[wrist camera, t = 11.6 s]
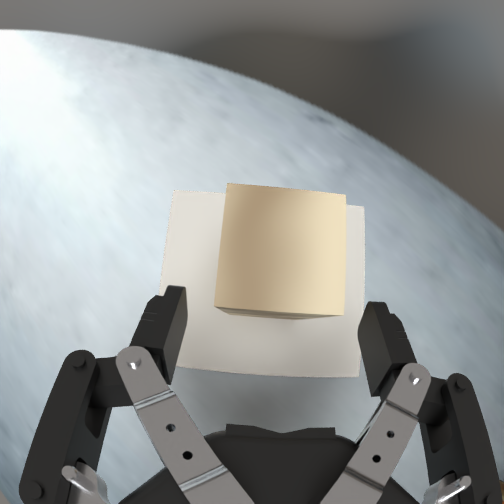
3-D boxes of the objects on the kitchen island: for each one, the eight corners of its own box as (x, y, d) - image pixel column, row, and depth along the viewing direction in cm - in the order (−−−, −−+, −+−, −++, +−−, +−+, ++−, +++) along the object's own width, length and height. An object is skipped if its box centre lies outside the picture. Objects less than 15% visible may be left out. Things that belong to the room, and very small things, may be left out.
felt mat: (362, 208, 26) (364, 206, 26) (357, 376, 23) (358, 377, 23) (174, 192, 26) (173, 190, 26) (154, 362, 23) (152, 362, 23)
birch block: (299, 255, 25) (345, 194, 13) (295, 319, 24) (343, 315, 12) (235, 249, 25) (227, 183, 13) (229, 314, 24) (213, 306, 12)
